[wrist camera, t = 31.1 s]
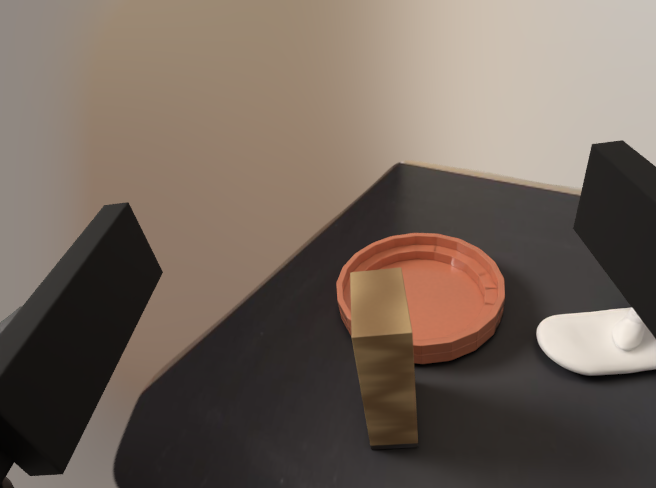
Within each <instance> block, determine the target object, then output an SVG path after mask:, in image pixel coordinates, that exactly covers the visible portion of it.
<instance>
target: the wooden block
mask: <svg viewBox="0 0 656 488" xmlns="http://www.w3.org/2000/svg"><path fill="white" fill-rule="evenodd" d="M350 289H351V332H352V343H353V348H354V354H355V360H356V365H357V371H358V377H359V382H360V388H361V394H362V399H363V405H364V411H365V417H366V422H367V428H368V434H369V439H370V445H371V449H372V450H375V449H394V448H413V447H418V430H417V410H416V391H415V372H414V353H413V334H412V327H411V321H410V315H409V309H408V303H407V297H406V292H405V286H404V280H403V274H402V268H401V267H400V268H390V269H380V270H369V271H359V272H350Z"/></svg>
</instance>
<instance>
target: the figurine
mask: <svg viewBox="0 0 656 488" xmlns="http://www.w3.org/2000/svg"><path fill="white" fill-rule="evenodd" d="M536 335H537V340H538V343H539V345H540V347H541V349H542V350H543V351H544V353H545V354H546V355H547V356H548V357H549V358H550V359H552V360H553V361H554V362H556V363H557V364H558V365H560V366H562V367H563V368H566V369H568V370H570V371H572V372H575V373H579V374H583V375H589V376H592V375H611V374H626V373H634V372H640V371H647V370H654V369H656V339H655V337H654V336H653V335H652V333H651V332H650V331H649V329H648V328H647V327H646V325H645V324H644V323H643V321H642V320H641V319H640V317H639V316H638V315H637V313H636V312H635V311H634V309H633V308H632V307H631V308H621V309H611V310H604V311H595V312H585V313H574V314H563V315H554V316H550V317H548V318H546V319H544V320H543V321H542V322H541V323H540V324H539V326H538V328H537V333H536Z"/></svg>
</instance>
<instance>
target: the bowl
mask: <svg viewBox="0 0 656 488" xmlns="http://www.w3.org/2000/svg"><path fill="white" fill-rule="evenodd" d="M400 267H401V268H402V274H403V280H404V286H405V292H406V297H407V303H408V309H409V315H410V321H411V327H412V334H413V353H414V363H417V364H428V363H436V362H444V361H451V360H453V359H456V358H458V357H461V356H463V355H465V354H468V353H470V352H473V351H475V350H477V349H478V348H479V347H480V346H481V345H482V344H483V343H485V342H486V341H487V340H488V339H489V338H490V337H491V336H492V335H494V333H495V331H496V329H497V327H498V325H499V323H500V321H501V318H502V316H503V309H504V301H505V283H504V277H503V276H502V274H501V272H500V270H499V268H498V266H497V264H496V263H495V261H493V260H492V259H491V258H490V257H489V256H488V255H487V254H485V253H484V252H483V251H482V250H481V249H479V248H478V247H476V246H473V245H471V244H469V243H467V242H465V241H463V240H461V239H458V238H454V237H449V236H445V235H441V234H430V233H411V234H403V235H396V236H391V237H388V238H385V239H382V240H379V241H377V242H374V243H371V244H370V245H368V246H367V247H365V248H363V249H362V250H360V251H359V252H357V253H356V254H354V256H353V257H352V258H351V259H350V260H349V261H348V262H347V263H346V264H345V265H344V267H343V268H342V271H341V273H340V276H339V278H338V281H337V298H338V305H339V310H340V315H341V319H342V321H343V322H344V324H345V326H346V328H347V330H348V332H349V333H350V335H351V336H352V332H351V289H350V272H359V271H369V270H380V269H390V268H400Z"/></svg>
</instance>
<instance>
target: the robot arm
mask: <svg viewBox="0 0 656 488" xmlns="http://www.w3.org/2000/svg"><path fill="white" fill-rule="evenodd" d="M573 229H574V230H575V231H576V233H577V234H578V235H579V237H580V238H581V239H582V241H583V242H584V244H585V245H586V246H587V248H588V249H589V250H590V252H591V253H592V254H593V256H594V257H595V258H596V260H597V261H598V262H599V264H600V265H601V266H602V268H603V269H604V270H605V272H606V273H607V274H608V276H609V277H610V278H611V280H612V281H613V282H614V284H615V285H616V286H617V288H618V289H619V290H620V292H621V293H622V294H623V296H624V297H625V298H626V300H627V301H628V302H629V304H630V305H631V307H632V308H633V309H634V311H635V312H636V313H637V315H638V316H639V317H640V319H641V320H642V321H643V323H644V324H645V325H646V327H647V328H648V329H649V331H650V332H651V333H652V335H653V336H654V337H655V339H656V167H655V166H654V165H653V164H652V163H650V162H649V161H648V160H646V159H645V158H644V157H643V156H641V155H640V154H639V153H638V152H636V151H635V150H634V149H633V148H631V147H630V146H629V145H628V144H626V143H625V142H624V141H614V142H607V143H598V144H592V147H591V151H590V156H589V160H588V165H587V169H586V174H585V179H584V183H583V187H582V192H581V196H580V201H579V205H578V210H577V214H576V219H575V223H574V228H573ZM162 273H163V272H162V270H161V268H160V266H159V264H158V261H157V260H156V257H155V255H154V253H153V251H152V249H151V247H150V245H149V243H148V241H147V239H146V237H145V235H144V233H143V231H142V229H141V227H140V225H139V223H138V221H137V219H136V217H135V215H134V213H133V211H132V209H131V207H130V205H129V203H120V204H112V205H104V206H103V208H102V209H101V210H100V211H99V213H98V214H97V215H96V216H95V218H94V219H93V220H92V221H91V222H90V224H89V225H88V227H86V229H85V230H84V231H83V233H82V234H81V235H80V236H79V237H78V239H77V240H76V241H75V242H74V243H73V245H72V246H71V247H70V248H69V250H68V251H67V252H66V253H65V255H64V256H63V257H62V258H61V259H60V261H59V262H58V263H57V264H56V266H55V267H54V268H53V269H52V271H51V272H50V273H49V274H48V276H47V277H46V278H45V279H44V280H43V282H42V283H41V284H40V285H39V287H38V288H37V289H36V290H35V292H34V293H33V294H32V295H31V297H30V298H29V299H28V300H27V301H26V303H25V304H24V305H23V306H22V307H19V308H18V309H17V310H16V311H14V312H13V313H12V314H11V315H9V316H8V317H7V318H6V319H4V320H3V321H2V322H1V323H0V488H14V487H13V485H12V483H11V481H10V480H9V479H8V478H7V477H6V475H7V473H8V472H9V470H10V468H11V466H12V465H13V463H14V462H15V463H16V464H17V465H18V466H19V467H20V468H21V469H23V470H24V471H25V472H26V473H27V474H28V475H30V476H39V475H57V474H63V473H64V471H65V469H66V467H67V464H68V463H69V461H70V459H71V457H72V455H73V453H74V450H75V448H76V447H77V445H78V443H79V441H80V438H81V436H82V434H83V432H84V430H85V428H86V426H87V424H88V422H89V420H90V418H91V416H92V414H93V412H94V410H95V408H96V406H97V404H98V402H99V400H100V398H101V396H102V394H103V392H104V390H105V388H106V386H107V384H108V382H109V380H110V378H111V376H112V374H113V372H114V370H115V368H116V366H117V364H118V362H119V360H120V358H121V356H122V354H123V352H124V350H125V348H126V345H127V343H128V341H129V339H130V337H131V335H132V333H133V331H134V329H135V327H136V325H137V323H138V321H139V319H140V317H141V315H142V313H143V311H144V309H145V307H146V305H147V303H148V301H149V299H150V297H151V295H152V293H153V291H154V289H155V287H156V285H157V283H158V281H159V279H160V277H161V275H162Z"/></svg>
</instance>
